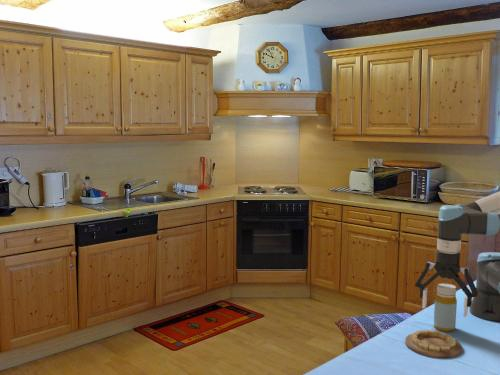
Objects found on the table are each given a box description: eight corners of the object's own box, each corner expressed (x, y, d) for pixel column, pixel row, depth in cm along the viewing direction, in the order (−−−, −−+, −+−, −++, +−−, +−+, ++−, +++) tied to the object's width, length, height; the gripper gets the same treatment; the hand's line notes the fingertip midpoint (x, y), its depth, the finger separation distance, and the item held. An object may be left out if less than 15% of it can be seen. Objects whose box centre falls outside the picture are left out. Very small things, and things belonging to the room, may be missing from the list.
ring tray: (441, 332, 178) (441, 325, 178) (473, 354, 162) (473, 347, 161) (395, 337, 174) (395, 330, 174) (423, 360, 158) (424, 352, 157)
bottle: (456, 332, 178) (459, 290, 176) (435, 331, 179) (437, 288, 177) (453, 325, 185) (455, 283, 183) (432, 323, 186) (434, 282, 184)
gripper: (408, 248, 182) (404, 307, 185) (486, 259, 169) (481, 322, 172) (414, 243, 188) (410, 301, 191) (489, 254, 175) (485, 315, 178)
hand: (444, 311), depth 181 cm, fingers open, 13 cm apart
